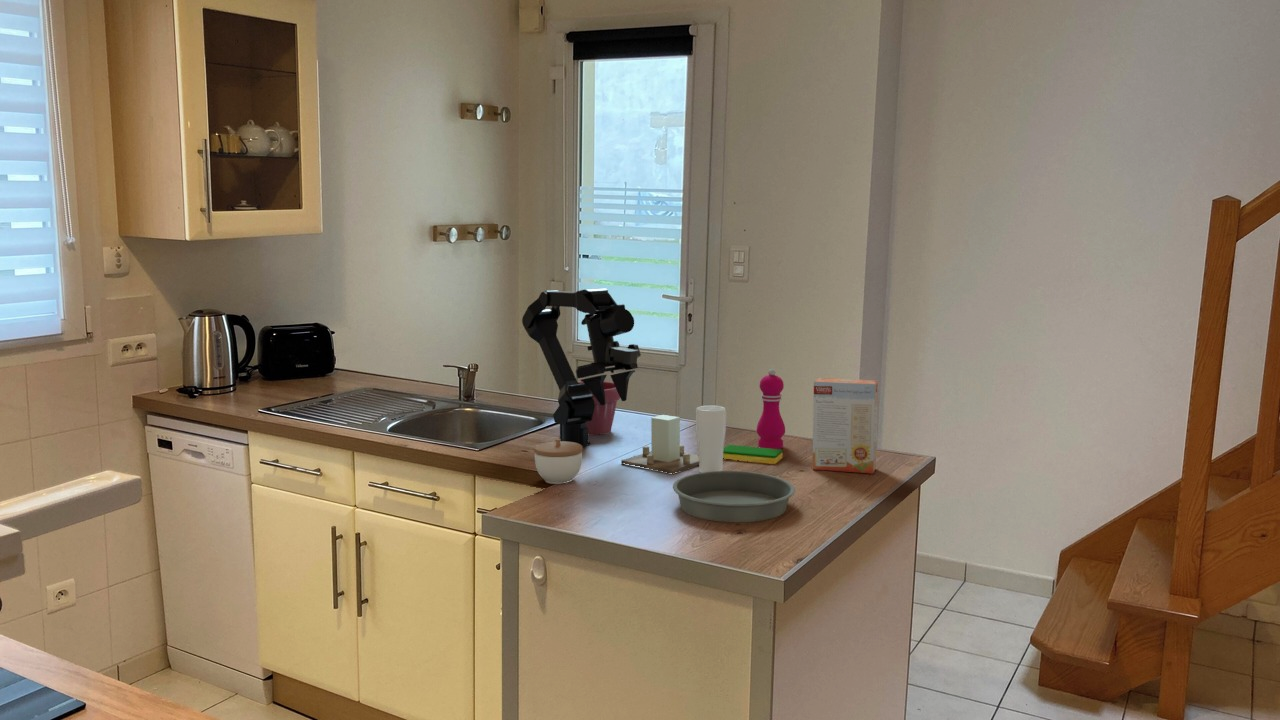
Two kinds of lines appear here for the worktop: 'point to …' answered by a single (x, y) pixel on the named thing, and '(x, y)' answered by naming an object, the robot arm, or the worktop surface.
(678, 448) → the sage block
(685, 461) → the peg stand
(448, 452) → the worktop surface
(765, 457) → the dish sponge
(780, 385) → the pepper mill
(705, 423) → the drinking glass
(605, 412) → the plant pot
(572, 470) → the lidded jar
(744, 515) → the cake pan
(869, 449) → the cracker box
